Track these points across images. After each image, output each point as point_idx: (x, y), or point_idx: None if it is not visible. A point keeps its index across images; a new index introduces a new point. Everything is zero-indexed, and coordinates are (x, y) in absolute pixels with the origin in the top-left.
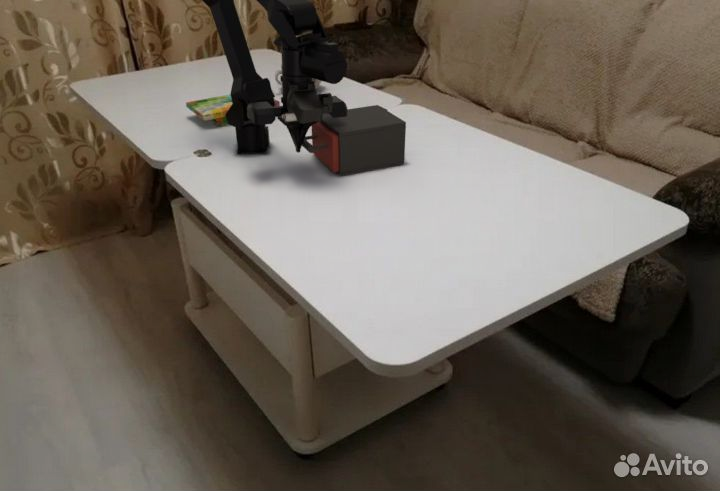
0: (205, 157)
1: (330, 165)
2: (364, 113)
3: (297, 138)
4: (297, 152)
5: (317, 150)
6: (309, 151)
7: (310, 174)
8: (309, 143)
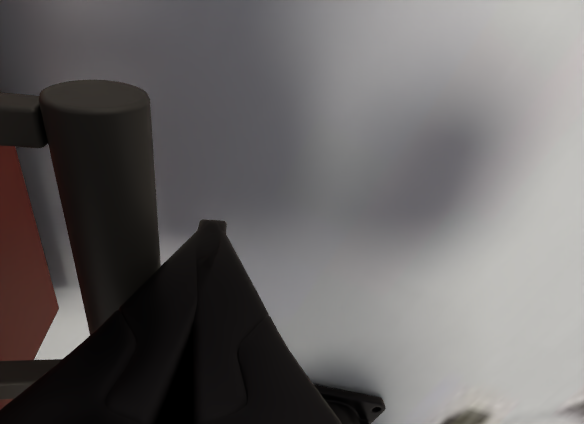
0: (476, 407)
1: None
2: None
3: (230, 311)
4: (225, 223)
5: (17, 276)
6: (136, 91)
7: (168, 61)
8: (81, 224)
